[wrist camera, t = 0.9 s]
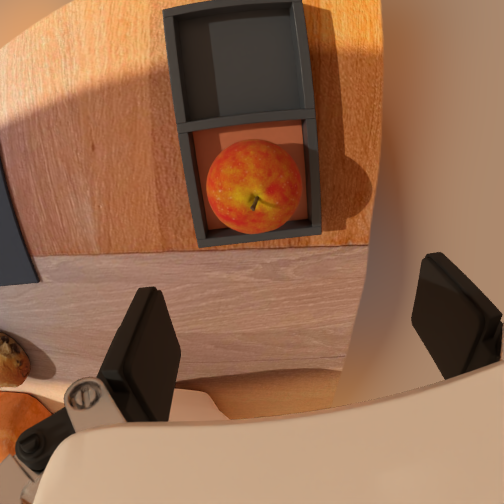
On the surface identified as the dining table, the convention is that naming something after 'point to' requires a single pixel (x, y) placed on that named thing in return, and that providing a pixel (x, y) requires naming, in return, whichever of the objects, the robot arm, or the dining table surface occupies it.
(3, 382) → the bread roll
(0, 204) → the mat
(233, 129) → the tray
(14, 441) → the bread
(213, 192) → the fruit
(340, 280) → the dining table surface
